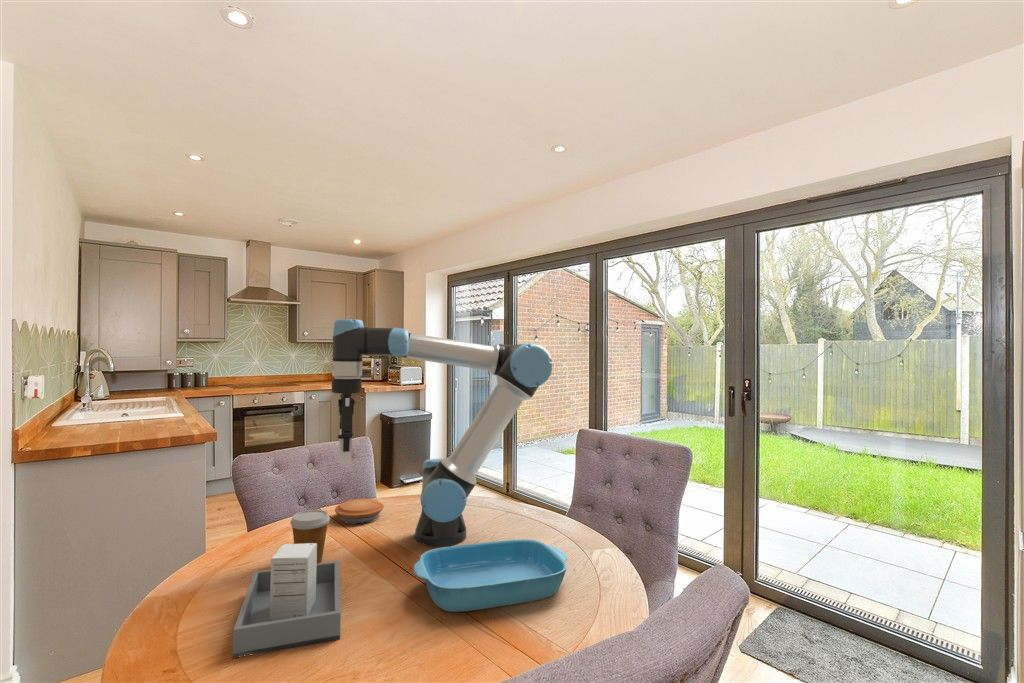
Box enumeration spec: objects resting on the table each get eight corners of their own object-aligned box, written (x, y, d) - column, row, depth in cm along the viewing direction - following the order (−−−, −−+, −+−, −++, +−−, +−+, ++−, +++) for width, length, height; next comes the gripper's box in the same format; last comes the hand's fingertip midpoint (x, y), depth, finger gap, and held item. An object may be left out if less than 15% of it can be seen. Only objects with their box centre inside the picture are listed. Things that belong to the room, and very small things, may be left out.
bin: (338, 581, 114) (339, 560, 114) (339, 639, 91) (340, 612, 92) (253, 593, 108) (254, 571, 108) (232, 658, 85) (233, 630, 85)
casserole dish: (544, 559, 129) (544, 532, 129) (584, 600, 108) (585, 568, 109) (406, 579, 116) (406, 549, 117) (422, 629, 95) (423, 593, 96)
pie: (355, 530, 147) (356, 514, 147) (324, 520, 155) (324, 504, 155) (393, 516, 160) (393, 501, 160) (362, 507, 168) (363, 493, 168)
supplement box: (280, 602, 103) (282, 543, 103) (316, 601, 104) (318, 542, 104) (267, 622, 95) (269, 558, 96) (306, 620, 96) (308, 556, 96)
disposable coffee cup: (314, 571, 119) (316, 523, 119) (280, 567, 121) (282, 519, 121) (336, 555, 128) (337, 510, 129) (304, 552, 130) (305, 507, 130)
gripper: (331, 375, 137) (329, 449, 136) (332, 380, 113) (329, 470, 113) (359, 375, 139) (357, 448, 139) (365, 380, 116) (362, 468, 116)
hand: (344, 458), depth 126 cm, fingers open, 13 cm apart
